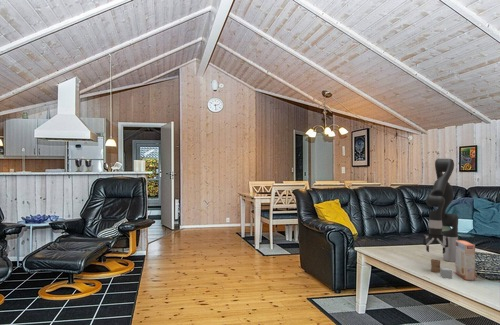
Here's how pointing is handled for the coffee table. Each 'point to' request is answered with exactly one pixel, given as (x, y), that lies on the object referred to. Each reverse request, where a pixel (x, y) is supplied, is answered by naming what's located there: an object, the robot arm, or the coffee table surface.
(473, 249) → the cracker box
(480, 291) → the coffee table surface
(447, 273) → the grey block
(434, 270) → the walnut block
